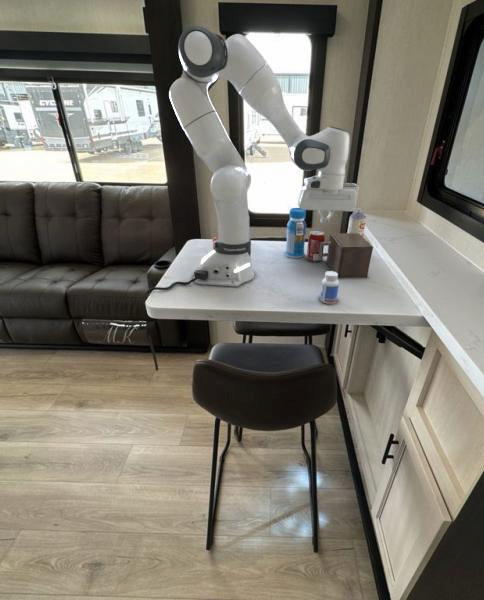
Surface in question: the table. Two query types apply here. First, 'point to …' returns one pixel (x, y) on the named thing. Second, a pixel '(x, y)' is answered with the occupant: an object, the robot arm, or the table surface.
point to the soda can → (315, 245)
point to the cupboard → (354, 255)
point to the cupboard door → (332, 253)
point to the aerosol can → (357, 222)
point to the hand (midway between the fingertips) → (324, 222)
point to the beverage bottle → (296, 233)
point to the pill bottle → (329, 287)
